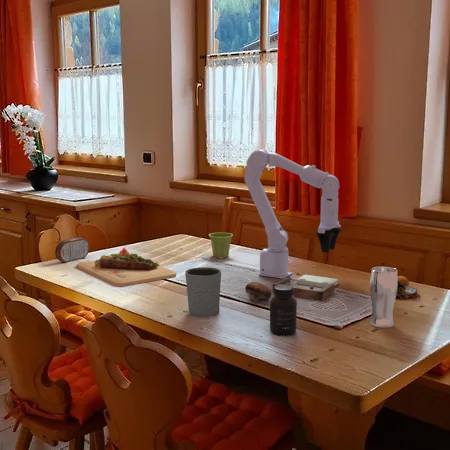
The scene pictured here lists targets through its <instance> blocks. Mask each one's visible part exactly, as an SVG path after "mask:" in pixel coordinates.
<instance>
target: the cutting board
mask: <svg viewBox="0 0 450 450" xmlns="http://www.w3.org/2000/svg"><path fill="white" fill-rule="evenodd" d="M76 269H79V270H81V271H83V272H86V273H88V274H90V275H92V276H93V277H96V278H98V279H100V280H102V281H104V282H106V283H109V284H110V285H112V286H114V287H127V286H134V285H138V284H144V283H150V282H155V281H161V280H166V279H165V278H167V279H171V278H170V277H173V278H176V277H177V271H175V270H172V269H170V268H167V267H164V266H161V265H160V263H158V262H154V261H153V260H152V259H151V258H144V257H142V256H141V255H138V253H132V252H129V250H127V249H126V247H123V248H122V249H121V250H119V252H117V253H111V254H109V255H105V254H103V255H101V256H100V257H99V259H96V260H89V261H81V262H77V264H76ZM175 276H176V277H175Z"/></svg>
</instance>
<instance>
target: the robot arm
mask: <svg viewBox="0 0 450 450" xmlns="http://www.w3.org/2000/svg"><path fill="white" fill-rule="evenodd" d="M245 165H246V167H245V172H244V183H245V184H246V187H247V189H248V191H249V194H250V196H251V199H252V201H253V202H254V205H255V207H256V209H257V212H258V215H259V217H260V219H261V221H262V223H263V226H264V229H265V234H266V236H267V246H268V247H267V248H263V249H262V250H261V252H260V254H259V255H260V256H259V273H258V276H263V277H269V278H277V279H281V280H282V279H284V278H286V277H289V276H291V275H292V274H293V272H291V271H289V247H287V243H288V240H289V235H288V232H287V231H286V230H284V228H283V227H282V226H281V224H280V222H279V221H278V219H277V216H276V214H275V212H274V209H273V207H272V205H271V202H270V200H269V197H268V196H267V194H266V191H265V189H264V187H263V184H262V182H261V180H260V178H261V177H262V174H263V171H264V170H265V169H266V168H267V167H268V168H273V167H279V168H280V169H284V170H286V171H288V172H291V173H293V174H295V175H298V176H299V178H300V180H301V181H302V182H303V183H306V184H308V185H310V186H312V187H314V188H317V189H321V190H322V191H321V192H322V194H321V198H320V199H321V200H320V223H319V226H318V229H317V231H316V236H317V238H318V241H319V244H320V250H321V252H322V253H329V251H330V250H331V251H332V250H335V248H336V245H337V244H336V243H337V240H338V237H339V235H340V233H341V232H342V229H341V226H342V225H341V224H340V221H339V197H338V196H339V189H340V182H339V179H338V178H337V176H335V175H334V174H330V173H329V172H328V171H326V172H325V171H324V170H320V169H319V168H316V167H317V166H316V165H314V164H312V165H309V164H307V165H305V166H303V165H300V164H298V162H297V163H296V162H294V161H293V160H290V159H288V158H286V157H285V156H282V155H280V154H279V153H275V152H272V151H267V150H266V149H263V148H259V149H256V150H254V151H253V152H251V153H250V155H249V157H247V160H246V164H245Z"/></svg>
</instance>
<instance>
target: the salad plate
mask: <svg viewBox="0 0 450 450" xmlns="http://www.w3.org/2000/svg"><path fill="white" fill-rule="evenodd" d="M408 274H409V273H406V275H405V276H403V275H399V276H398V275H397V280H398V283H397V293H396V297H399V299H401V300H407V299H411V298H412V299H414V298H415V299H416V297H417V296H418V289H417V288H415V287H413V286H411V285H410V281H409V280H408V278H407V275H408Z"/></svg>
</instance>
